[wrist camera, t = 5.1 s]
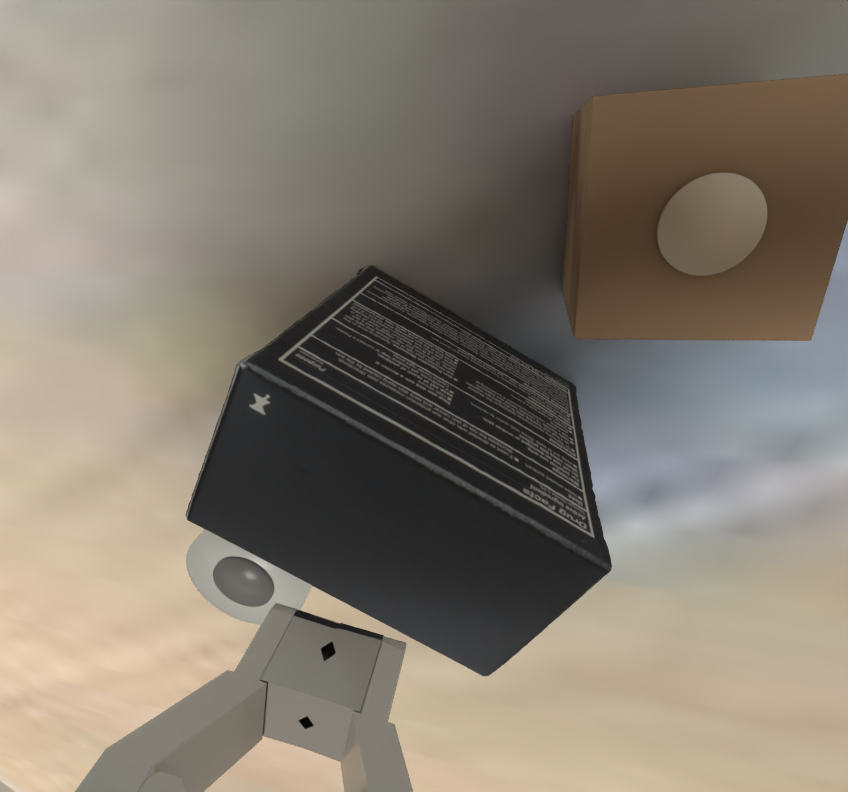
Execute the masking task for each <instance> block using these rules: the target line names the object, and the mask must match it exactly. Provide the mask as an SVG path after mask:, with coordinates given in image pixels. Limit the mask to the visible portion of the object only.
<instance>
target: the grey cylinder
mask: <svg viewBox="0 0 848 792" xmlns="http://www.w3.org/2000/svg"><path fill="white" fill-rule="evenodd" d="M186 564H187V570H188V573H189V576H190V578H191V580H192V582H193V584H194V585H195V587H196V588H197V589H198V591H199V592H200V593H201V594H202V595H203V597H204V598H206V599H207V600H208V601H209V602H210V603H211V604H212V605H214V606H215V607H216V608H218V609H219V610H221V611H222V612H224V613H226V614H228V615H230V616H232V617H234V618H236V619H239V620H242V621H245V622H249V623H253V624H260V625H261V624H262V622H263V621H264V619H265V617H266V616H267V614H268V612H269V610H270V609H271V608H272V607H273V606H274V604H275V603H279V604H282V605H285V606H288V607H292V608H295V609H298V610H301V608H302V606H303V604H304V602H305V600H306V598H307V596H308V594H309V592H310V590H311V588H312V585H310V584H308V583H307V582H305V581H303V580H301V579H299V578H297V577H295V576H293V575H291V574H289V573H288V572H286V571H284V570H282V569H280V568H278V567H276V566H274V565H272V564H270V563H269V562H267V561H265V560H263V559H261V558H259V557H257V556H255V555H253V554H252V553H250V552H248V551H246V550H244V549H242V548H240V547H238V546H236V545H234V544H232V543H230V542H228V541H226V540H225V539H223V538H221V537H219V536H217V535H215V534H213V533H211V532H210V531H208V530H205V529H204V530H203V531H202V533H201V534H200V535H199V536H198V537H197V538H196V539H195V541H194V542H193V543H192V544H191V546H190V547H189V550H188V552H187V557H186Z"/></svg>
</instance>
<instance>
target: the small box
mask: <svg viewBox="0 0 848 792" xmlns="http://www.w3.org/2000/svg"><path fill="white" fill-rule="evenodd" d="M592 488H593V484H592V480H591V471H590V468H589V463H588V457H587V452H586V447H585V441H584V436H583V430H582V428H581V419H580V415H579V409H578V401H577V396H576V387H575V385H573V384H572V383H570V382H568V381H566V380H564V379H563V378H561V377H559V376H558V375H556V374H554V373H553V372H551V371H550V370H548V369H546V368H545V367H543V366H541V365H539V364H538V363H536V362H534V361H533V360H531V359H529V358H527V357H526V356H524V355H522V354H521V353H519V352H518V351H516V350H514V349H513V348H511V347H510V346H507V345H506V344H504V343H502V342H500V341H499V340H497V339H495V338H494V337H492V336H490V335H489V334H487V333H485V332H483V331H482V330H480V329H478V328H477V327H475V326H473V325H472V324H470V323H469V322H467V321H465V320H463V319H461V318H460V317H458V316H457V315H455V314H454V313H452V312H450V311H448V310H446V309H445V308H443V307H441V306H440V305H438V304H436V303H434V302H433V301H431V300H429V299H428V298H426V297H424V296H423V295H421V294H419V293H417V292H416V291H414V290H412V289H411V288H409V287H407V286H405V285H404V284H402V283H400V282H398V281H396V280H394V279H393V278H391V277H390V276H388V275H386V274H384V273H382V272H381V271H379V270H377V269H376V268H374V267H373V266H368V267H365V268H362V269H360V270H359V271H358V273H357V276H356V277H355V278H353V279H352V280H351V281H349V282H348V283H347V284H345V285H344V286H343V287H342V288H340V289H338V290H337V291H336V292H335V293H333V294H332V295H330V296H329V297H328V298H327V299H325V300H324V301H323V302H322V303H320V304H319V305H318V306H317V307H315V308H314V309H313V310H312V311H310V312H309V313H308V314H306V315H305V316H304V317H302V318H301V319H300V320H299V321H297V322H296V323H294V324H293V325H292V326H291V327H289V328H288V329H287V330H285V331H284V332H283V333H282V334H281V335H279V336H278V337H277V338H276V339H274V340H273V341H271V342H270V343H269V344H268V345H267V346H265V347H264V348H262V349H261V350H259V351H257V352H255V353H253V354H252V355H249V356H248V357H246V358H244V359H243V360H241V361H240V362H239V363H238V364H237V366H236V369H235V373H234V376H233V379H232V382H231V385H230V388H229V391H228V395H227V397H226V400H225V403H224V405H223V408H222V411H221V414H220V417H219V419H218V422H217V425H216V428H215V431H214V434H213V438H212V441H211V443H210V446H209V449H208V452H207V454H206V456H205V460H204V463H203V465H202V469H201V471H200V473H199V477H198V480H197V483H196V486H195V489H194V491H193V494H192V498H191V501H190V503H189V505H188V509H187V512H186V517H187V520H188V521H190V522H192V523H194V524H196V525H198V526H200V527H202V528H204V529H205V530H208V531H210V532H211V533H213V534H215V535H217V536H219V537H221V538H223V539H225V540H226V541H228V542H230V543H232V544H234V545H236V546H238V547H240V548H242V549H244V550H246V551H248V552H250V553H252V554H253V555H255V556H257V557H259V558H261V559H263V560H265V561H267V562H269V563H270V564H272V565H274V566H276V567H278V568H280V569H282V570H284V571H286V572H288V573H289V574H291V575H293V576H295V577H297V578H299V579H301V580H303V581H305V582H307V583H308V584H310V585H312V586H314V587H316V588H318V589H320V590H322V591H324V592H326V593H327V594H329V595H331V596H333V597H335V598H337V599H339V600H341V601H343V602H345V603H347V604H348V605H350V606H352V607H354V608H356V609H358V610H360V611H362V612H363V613H365V614H367V615H369V616H371V617H373V618H375V619H377V620H379V621H380V622H382V623H384V624H386V625H388V626H390V627H392V628H394V629H396V630H398V631H399V632H401V633H403V634H405V635H407V636H409V637H411V638H413V639H414V640H416V641H418V642H420V643H422V644H424V645H426V646H428V647H430V648H432V649H433V650H435V651H437V652H439V653H441V654H443V655H445V656H447V657H448V658H450V659H452V660H454V661H456V662H458V663H460V664H462V665H464V666H466V667H467V668H469V669H471V670H473V671H475V672H476V673H478V674H480V675H482V676H489V675H490V674H492V673H493V672H494V671H496V670H497V669H498V668H500V667H501V666H502V665H504V664H505V663H506V662H507V661H508V660H509V659H510V658H512V657H513V656H514V655H515V654H517V653H518V652H519V651H520V650H521V649H522V648H523V647H524V646H526V645H527V644H528V643H529V642H530V641H531V640H532V639H534V638H535V637H536V636H537V635H539V634H540V633H541V632H542V631H543V630H544V629H545V628H546V627H547V626H548V625H549V624H550V623H552V622H553V621H554V620H555V619H556V618H558V617H559V616H560V615H561V614H562V613H563V612H564V611H565V610H567V609H568V608H569V607H570V606H571V605H572V604H573V603H575V602H576V601H577V600H578V599H579V598H580V597H581V596H583V595H584V594H585V593H586V592H587V591H588V590H589V589H590V588H591V587H593V586H594V585H595V584H596V583H597V582H598V581H599V580H601V579H602V578H603V577H604V576H605V575H606V574H608V573H609V572H610V571H611V567H612V565H611V559H610V555H609V550H608V547H607V544H606V542H605V540H604V537H603V531H602V526H601V522H600V518H599V516H598V510H597V506H596V501H595V494H594V492H593V489H592Z"/></svg>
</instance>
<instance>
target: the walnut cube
mask: <svg viewBox="0 0 848 792" xmlns="http://www.w3.org/2000/svg"><path fill="white" fill-rule="evenodd" d="M847 220H848V74H838V75H827V76H815V77H804V78H793V79H781V80H770V81H759V82H747V83H736V84H725V85H713V86H702V87H691V88H679V89H668V90H657V91H645V92H634V93H623V94H611V95H600V96H593V97H592V98H591V99H590V100H589V101H588V102H587V103H586V104H585V105H584V106H583V107H582V108H581V109H580V110H579V111H577V112H576V113H575V114H574V115H573V124H572V140H571V155H570V170H569V186H568V201H567V216H566V232H565V247H564V263H563V278H562V293H563V297H564V301H565V304H566V308H567V312H568V316H569V320H570V324H571V328H572V332H573V336H574V339H643V340H793V341H811V339H812V336H813V332H814V329H815V326H816V322H817V319H818V316H819V312H820V309H821V306H822V303H823V299H824V296H825V293H826V289H827V286H828V283H829V280H830V276H831V273H832V270H833V266H834V263H835V260H836V256H837V253H838V250H839V247H840V243H841V240H842V237H843V233H844V230H845V227H846V224H847Z"/></svg>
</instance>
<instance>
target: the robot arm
mask: <svg viewBox="0 0 848 792" xmlns="http://www.w3.org/2000/svg"><path fill="white" fill-rule="evenodd" d="M383 636H384V635H380V634H377V633H373V632H370V631H367V630H363V629H360V628H356V627H353V626H349V625H346V624H342V623H337V622H334V621H331V620H328V619H325V618H322V617H319V616H315V615H312V614H309V613H306V612H303V611H300V610H298V609H295V608H292V607H288V606H285V605H282V604H279V603H275V604H274V606H273V607H272V608H271V609H270V610H269V612H268V614H267V616H266V617H265V619H264V621H263V622H262V624H261V626H260V628H259V629H258V631H257V633H256V635H255V636H254V638H253V640H252V642H251V643H250V645H249V647H248V649H247V650H246V652H245V654H244V656H243V657H242V659H241V661H240V662H239V664H238V666H237V668H236V669H235V671H234V672H232V671H228V670H227V671H225V672H224V673H222V674H221V675H219V676H218V677H216V678H215V679H213V680H211V681H210V682H208V683H207V684H205V685H204V686H202V687H201V688H199V689H198V690H196V691H195V692H193V693H191V694H190V695H188V696H187V697H185V698H184V699H182V700H181V701H179V702H178V703H176V704H175V705H173V706H171V707H170V708H168V709H167V710H165V711H164V712H162V713H161V714H159V715H158V716H156V717H154V718H153V719H151V720H150V721H148V722H147V723H145V724H144V725H142V726H141V727H139V728H138V729H136V730H134V731H133V732H131V733H130V734H128V735H127V736H125V737H124V738H122V739H121V740H119V741H118V742H116V743H114V744H113V745H111V746H110V747H108V748H107V749H106V750H105V751H104V752H103V754H102V755H101V756H100V758H99V759H98V761H97V762H96V763H95V765H94V766H93V768H92V769H91V770H90V772H89V773H88V774H87V776H86V777H85V779H84V780H83V781H82V783H81V784H80V786H79V787H78V788H77V790H76V791H75V792H204V791H205V790H206V789H207V788H208V787H209V786H210V785H211V784H213V783H214V782H215V781H216V780H217V779H218V778H219V777H220V776H222V775H223V774H224V773H225V772H226V771H227V770H228V769H229V768H230V767H232V766H233V765H234V764H235V763H236V762H237V761H238V760H239V759H240V758H242V757H243V756H244V755H245V754H246V753H247V752H248V751H249V750H251V749H252V748H253V747H254V746H255V745H256V744H257V743H258V742H259V741H261V740H262V736H265V737H268V738H271V739H275V740H278V741H282V742H285V743H288V744H292V745H295V746H298V747H302V748H304V749H307V750H310V751H313V752H315V753H318V754H321V755H323V756H326V757H329V758H332V759H334V760H337V761H340V762H341V770H342V776H343V783H344V790H345V792H413V789H412V786H411V782H410V778H409V775H408V771H407V768H406V764H405V760H404V757H403V753H402V750H401V746H400V742H399V739H398V735H397V732H396V728H395V725H394V724H392V723H389V722H388V719H389V715H390V711H391V707H392V702H393V698H394V694H395V690H396V686H397V682H398V678H399V674H400V670H401V666H402V662H403V658H404V654H405V649H406V643H405V642H401V641H398V640H394V639H391V638H387V637H384V638H383Z"/></svg>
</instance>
